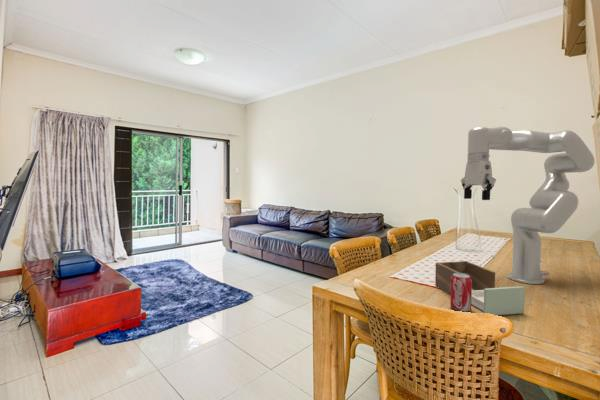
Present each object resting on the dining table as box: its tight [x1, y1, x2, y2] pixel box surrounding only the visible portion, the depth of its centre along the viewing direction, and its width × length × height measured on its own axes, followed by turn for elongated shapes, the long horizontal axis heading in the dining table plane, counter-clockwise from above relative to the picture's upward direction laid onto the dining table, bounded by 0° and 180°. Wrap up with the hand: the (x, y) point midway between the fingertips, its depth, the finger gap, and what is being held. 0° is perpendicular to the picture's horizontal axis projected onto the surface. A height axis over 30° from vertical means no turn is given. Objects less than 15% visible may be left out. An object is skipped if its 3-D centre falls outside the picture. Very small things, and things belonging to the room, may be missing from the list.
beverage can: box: [449, 273, 473, 313], centre depth 96 cm, size 6×6×12 cm
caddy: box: [434, 260, 496, 296], centre depth 111 cm, size 14×15×10 cm
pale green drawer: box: [471, 285, 526, 316], centre depth 99 cm, size 14×15×9 cm
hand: (476, 199), depth 118 cm, fingers open, 9 cm apart
